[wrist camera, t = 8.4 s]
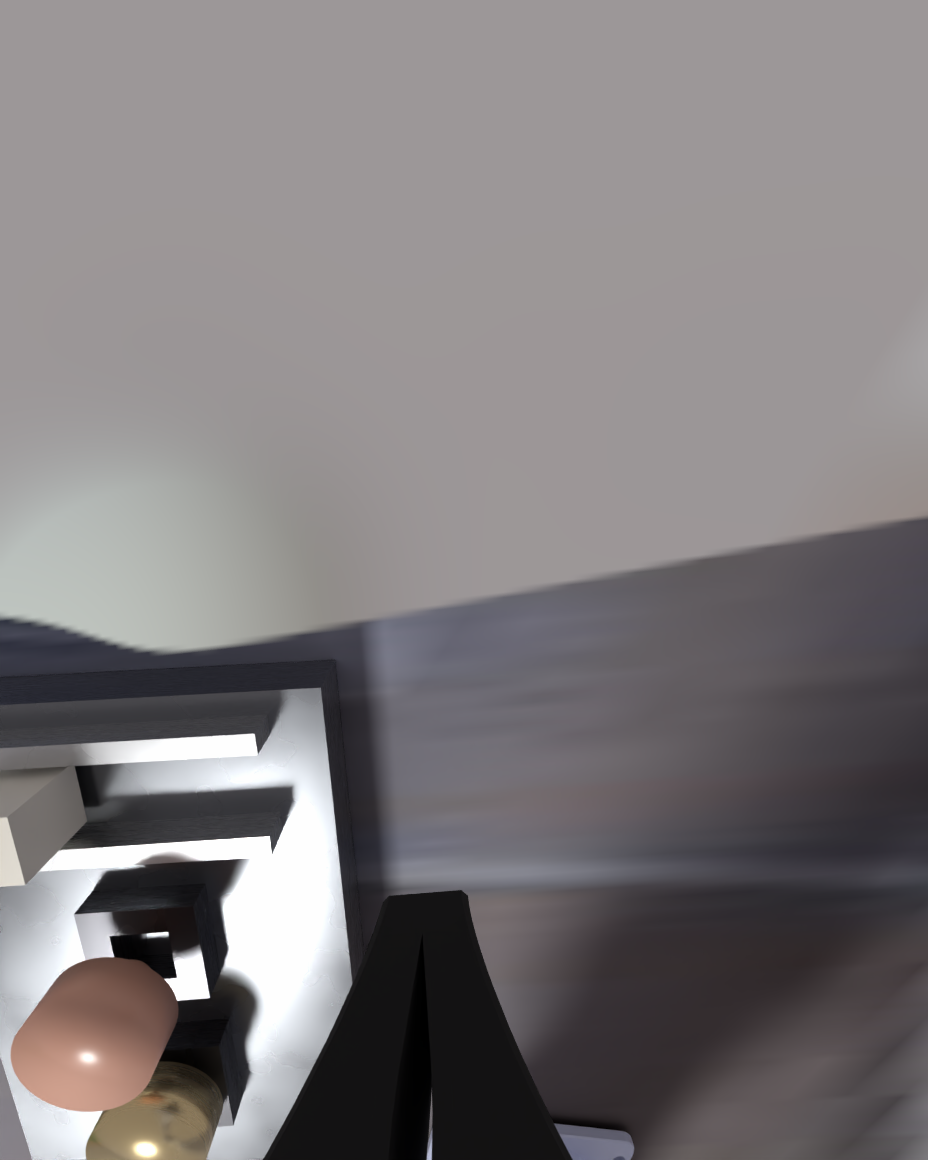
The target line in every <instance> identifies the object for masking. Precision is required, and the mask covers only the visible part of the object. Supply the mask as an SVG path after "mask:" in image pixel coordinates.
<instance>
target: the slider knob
mask: <svg viewBox="0 0 928 1160" xmlns="http://www.w3.org/2000/svg"><path fill="white" fill-rule="evenodd" d="M86 822H87V818H86V814H85V809H84V805H83V801H82V796H81V792H80V787H79V783H78V779H77V774H76V770H75V766H66V767H49V768H32V769H15V770H0V887H5V886H20V885H26V884H27V883H28V882H29V881H30V880H31V879H32V878H33V877H34V876H35V875H36V874H37V873H38V872H39V871H40V869H41V868H42V867H43V866H44V865H45V864H46V863H47V862H48V861H49V860H50V859H51V858H52V857H53V856H54V855H55V854H56V853H57V852H58V851H59V850H60V849H61V848H62V847H63V846H64V845H65V844H66V843H67V842H68V841H69V840H70V839H71V837H72V836H73V835H74V834H75V833H76V832H77V831H78V830H79V829H80V828H81V827H82V826H83V825H84V824H85V823H86Z"/></svg>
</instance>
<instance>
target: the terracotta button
mask: <svg viewBox="0 0 928 1160" xmlns="http://www.w3.org/2000/svg"><path fill="white" fill-rule="evenodd" d="M177 1019H178V1002H177V999H176V996H175V994H174V992H173V990H172V988H171V987H170V985H169V984H168V983H167V982H166V981H165V979H164V978H162V977H161V976H160V975H159V974H158V973H156V972H155V971H154V970H152V969H151V968H150V967H149V966H148V965H147V964H146V963H144V962H142V961H139V960H134V959H131V960H128V959H123V958H115V957H100V958H93V959H89V960H85V961H82V962H79V963H77V964H75V965H73V966H71V967H69V968H68V969H66V970H65V971H64V972H63V973H62V974H60V975H59V977H58V978H57V979H56V980H55V982H54V983H53V984H52V986H51V987H50V988H49V990H48V991H47V992H46V994H45V995H44V997H43V998H42V999H41V1001H40V1002H39V1003H38V1005H37V1006H36V1007H35V1009H34V1010H33V1012H32V1013H31V1014H30V1016H29V1017H28V1018H27V1020H26V1021H25V1022H24V1024H23V1025H22V1027H21V1028H20V1029H19V1031H18V1032H17V1034H16V1035H15V1037H14V1039H13V1042H12V1045H11V1052H10V1054H11V1063H12V1067H13V1070H14V1072H15V1074H16V1076H17V1078H18V1079H19V1081H20V1082H21V1083H22V1084H23V1086H24V1087H25V1088H26V1089H27V1090H29V1091H30V1092H31V1093H32V1094H34V1095H35V1096H36V1097H38V1098H39V1099H41V1100H43V1101H45V1102H47V1103H49V1104H51V1105H54V1106H57V1107H59V1108H63V1109H67V1110H73V1111H81V1112H97V1111H104V1110H109V1109H113V1108H116V1107H119V1106H122V1105H124V1104H126V1103H128V1102H130V1101H131V1100H133V1099H134V1098H136V1097H137V1096H138V1095H139V1094H140V1093H141V1092H142V1091H143V1090H144V1089H145V1088H146V1086H147V1085H148V1083H149V1082H150V1079H151V1077H152V1075H153V1073H154V1071H155V1069H156V1066H157V1064H158V1062H159V1060H160V1058H161V1056H162V1054H163V1051H164V1049H165V1047H166V1045H167V1043H168V1041H169V1038H170V1036H171V1034H172V1032H173V1030H174V1028H175V1025H176V1023H177Z"/></svg>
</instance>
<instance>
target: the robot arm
mask: <svg viewBox="0 0 928 1160" xmlns="http://www.w3.org/2000/svg"><path fill="white" fill-rule="evenodd" d="M431 1092H432V1107H433V1123H432V1130H431V1134H430V1137H429V1141H428V1134H429V1120H430V1106H431ZM633 1153H634V1145H633V1141H632V1138H631V1136H630V1135H629V1134H628V1133H627V1132H624V1131H619V1130H610V1129H601V1128H592V1127H583V1126H574V1125H565V1124H556V1123H553V1121H552V1119H551V1117H550V1115H549V1113H548V1111H547V1108H546V1106H545V1104H544V1102H543V1100H542V1098H541V1096H540V1094H539V1092H538V1090H537V1088H536V1086H535V1083H534V1081H533V1079H532V1077H531V1075H530V1073H529V1070H528V1068H527V1066H526V1064H525V1062H524V1060H523V1057H522V1055H521V1053H520V1051H519V1048H518V1046H517V1044H516V1042H515V1039H514V1037H513V1035H512V1032H511V1030H510V1028H509V1025H508V1023H507V1020H506V1018H505V1015H504V1013H503V1010H502V1008H501V1005H500V1003H499V1000H498V997H497V995H496V992H495V990H494V987H493V985H492V982H491V979H490V977H489V974H488V971H487V968H486V965H485V962H484V959H483V956H482V953H481V950H480V947H479V944H478V940H477V937H476V933H475V930H474V926H473V922H472V917H471V913H470V908H469V901H468V895H466V894H465V893H464V892H463V891H462V890H458V891H445V892H432V893H420V894H407V895H394V896H389V897H388V898H387V899H386V900H385V901H384V902H383V905H382V908H381V912H380V915H379V918H378V921H377V924H376V927H375V929H374V932H373V935H372V938H371V940H370V943H369V945H368V948H367V951H366V953H365V956H364V958H363V960H362V963H361V965H360V968H359V970H358V972H357V975H356V977H355V980H354V982H353V984H352V986H351V988H350V991H349V993H348V995H347V997H346V999H345V1002H344V1004H343V1006H342V1008H341V1010H340V1013H339V1015H338V1017H337V1019H336V1021H335V1024H334V1026H333V1028H332V1030H331V1032H330V1034H329V1036H328V1038H327V1040H326V1042H325V1044H324V1046H323V1048H322V1050H321V1052H320V1054H319V1056H318V1058H317V1060H316V1062H315V1064H314V1066H313V1068H312V1070H311V1072H310V1074H309V1075H308V1077H307V1079H306V1081H305V1083H304V1085H303V1087H302V1089H301V1091H300V1093H299V1095H298V1097H297V1099H296V1101H295V1103H294V1105H293V1106H292V1108H291V1110H290V1112H289V1114H288V1116H287V1117H286V1119H285V1121H284V1123H283V1125H282V1127H281V1128H280V1130H279V1132H278V1134H277V1136H276V1137H275V1139H274V1141H273V1143H272V1144H271V1146H270V1148H269V1150H268V1152H267V1153H266V1155H265V1157H264V1159H263V1160H631V1158H632V1155H633Z"/></svg>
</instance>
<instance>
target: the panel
mask: <svg viewBox="0 0 928 1160" xmlns="http://www.w3.org/2000/svg"><path fill="white" fill-rule="evenodd" d="M66 766H75V770H76V774H77V779H78V783H79V787H80V792H81V796H82V801H83V805H84V809H85V814H86V818H87V822H86V823H85V824H84V825H83V826H82V827H81V828H80V829H79V830H78V831H77V832H76V833H75V834H74V835H73V836H72V837H71V839H70V840H69V841H68V842H67V843H66V844H65V845H64V846H63V847H62V848H61V849H60V850H59V851H58V852H57V853H56V854H55V855H54V856H53V857H52V858H51V859H50V860H49V861H48V862H47V863H46V864H45V865H44V866H43V867H42V868H41V869H40V871H39V872H38V873H37V874H36V875H35V876H34V877H33V878H32V879H31V880H30V881H29V882H28V883H27V884H26V885H20V886H5V887H0V1056H1V1060H2V1063H3V1066H4V1069H5V1073H6V1076H7V1079H8V1082H9V1085H10V1089H11V1092H12V1095H13V1098H14V1102H15V1105H16V1108H17V1111H18V1115H19V1118H20V1121H21V1124H22V1128H23V1131H24V1134H25V1137H26V1140H27V1144H28V1147H29V1150H30V1153H31V1157H32V1160H86V1144H87V1141H88V1139H89V1137H90V1135H91V1133H92V1131H93V1129H94V1127H95V1125H96V1123H97V1121H98V1119H99V1117H100V1115H101V1113H102V1111H97V1112H81V1111H73V1110H67V1109H63V1108H59V1107H57V1106H54V1105H51V1104H49V1103H47V1102H45V1101H43V1100H41V1099H39V1098H38V1097H36V1096H35V1095H34V1094H32V1093H31V1092H30V1091H29V1090H27V1089H26V1088H25V1087H24V1086H23V1084H22V1083H21V1082H20V1081H19V1079H18V1078H17V1076H16V1074H15V1072H14V1070H13V1067H12V1063H11V1054H10V1052H11V1045H12V1042H13V1039H14V1037H15V1035H16V1034H17V1032H18V1031H19V1029H20V1028H21V1027H22V1025H23V1024H24V1022H25V1021H26V1020H27V1018H28V1017H29V1016H30V1014H31V1013H32V1012H33V1010H34V1009H35V1007H36V1006H37V1005H38V1003H39V1002H40V1001H41V999H42V998H43V997H44V995H45V994H46V992H47V991H48V990H49V988H50V987H51V986H52V984H53V983H54V982H55V980H56V979H57V978H58V977H59V975H60V974H62V973H63V972H64V971H65V970H66V969H68V968H69V967H71V966H73V965H75V964H77V963H79V962H82V961H85V960H89V959H93V958H100V957H115V958H123V959H128V960H131V959H134V960H139V961H142V962H144V963H146V964H147V965H148V966H149V967H150V968H151V969H152V970H154V971H155V972H156V973H158V974H159V975H160V976H161V977H162V978H164V979H165V981H166V982H167V983H168V984H169V985H170V987H171V988H172V990H173V992H174V994H175V996H176V999H177V1002H178V1019H177V1023H176V1025H175V1028H174V1030H173V1032H172V1034H171V1036H170V1038H169V1041H168V1043H167V1045H166V1047H165V1049H164V1051H163V1054H162V1056H161V1058H160V1060H159V1062H177V1063H182V1064H186V1065H189V1066H192V1067H194V1068H197V1069H198V1070H200V1071H202V1072H204V1073H205V1074H207V1075H208V1076H209V1077H210V1078H211V1079H212V1080H213V1081H214V1082H215V1083H216V1085H217V1086H218V1088H219V1089H220V1092H221V1094H222V1098H223V1110H222V1114H221V1117H220V1120H219V1123H218V1126H217V1129H216V1132H215V1135H214V1138H213V1141H212V1144H211V1147H210V1150H209V1153H208V1156H207V1159H206V1160H255V1159H264V1157H265V1155H266V1153H267V1152H268V1150H269V1148H270V1146H271V1144H272V1143H273V1141H274V1139H275V1137H276V1136H277V1134H278V1132H279V1130H280V1128H281V1127H282V1125H283V1123H284V1121H285V1119H286V1117H287V1116H288V1114H289V1112H290V1110H291V1108H292V1106H293V1105H294V1103H295V1101H296V1099H297V1097H298V1095H299V1093H300V1091H301V1089H302V1087H303V1085H304V1083H305V1081H306V1079H307V1077H308V1075H309V1074H310V1072H311V1070H312V1068H313V1066H314V1064H315V1062H316V1060H317V1058H318V1056H319V1054H320V1052H321V1050H322V1048H323V1046H324V1044H325V1042H326V1040H327V1038H328V1036H329V1034H330V1032H331V1030H332V1028H333V1026H334V1024H335V1021H336V1019H337V1017H338V1015H339V1013H340V1010H341V1008H342V1006H343V1004H344V1002H345V999H346V997H347V995H348V993H349V991H350V988H351V986H352V984H353V982H354V980H355V977H356V975H357V972H358V970H359V968H360V965H361V963H362V960H363V958H364V948H363V938H362V928H361V918H360V908H359V897H358V887H357V877H356V867H355V857H354V847H353V837H352V827H351V817H350V807H349V796H348V786H347V776H346V766H345V756H344V746H343V736H342V726H341V716H340V706H339V695H338V685H337V675H336V665H335V660H324V661H305V662H286V663H267V664H248V665H229V666H210V667H191V668H172V669H153V670H134V671H115V672H96V673H77V674H58V675H39V676H20V677H1V678H0V770H15V769H32V768H49V767H66Z"/></svg>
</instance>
